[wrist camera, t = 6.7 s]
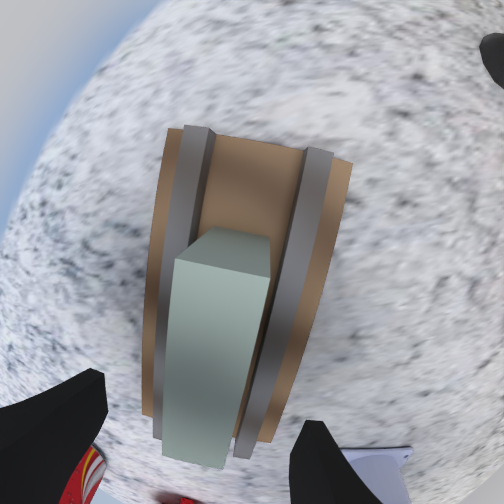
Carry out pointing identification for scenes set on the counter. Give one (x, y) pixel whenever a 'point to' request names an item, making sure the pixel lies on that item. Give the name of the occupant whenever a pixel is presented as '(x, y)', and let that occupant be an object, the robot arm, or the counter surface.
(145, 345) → the track board
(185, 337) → the door panel
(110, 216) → the counter surface
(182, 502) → the red toy stool
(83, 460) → the soda can
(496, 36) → the wooden tabletop sculpture
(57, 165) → the counter surface
